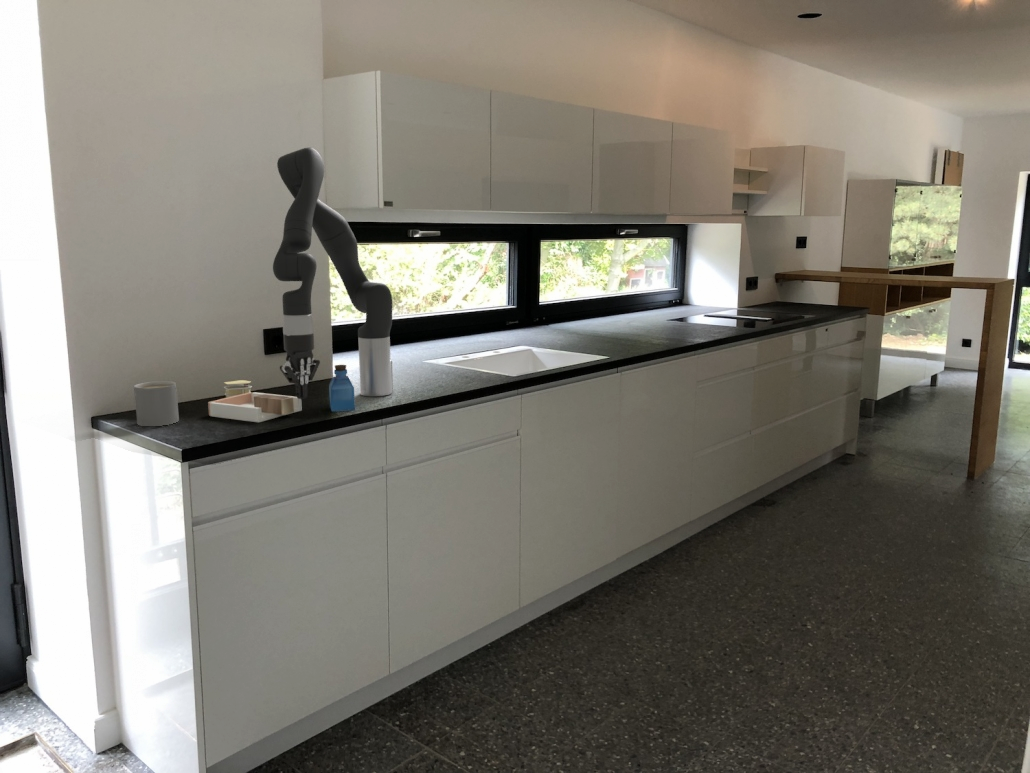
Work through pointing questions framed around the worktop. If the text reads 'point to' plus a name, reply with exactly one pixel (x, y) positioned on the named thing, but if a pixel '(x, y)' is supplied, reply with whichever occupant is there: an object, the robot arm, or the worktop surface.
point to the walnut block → (274, 404)
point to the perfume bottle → (341, 391)
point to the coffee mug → (156, 403)
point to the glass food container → (237, 388)
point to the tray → (245, 408)
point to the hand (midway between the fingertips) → (301, 398)
